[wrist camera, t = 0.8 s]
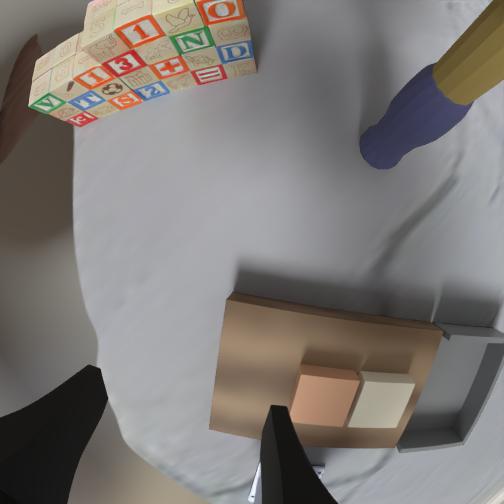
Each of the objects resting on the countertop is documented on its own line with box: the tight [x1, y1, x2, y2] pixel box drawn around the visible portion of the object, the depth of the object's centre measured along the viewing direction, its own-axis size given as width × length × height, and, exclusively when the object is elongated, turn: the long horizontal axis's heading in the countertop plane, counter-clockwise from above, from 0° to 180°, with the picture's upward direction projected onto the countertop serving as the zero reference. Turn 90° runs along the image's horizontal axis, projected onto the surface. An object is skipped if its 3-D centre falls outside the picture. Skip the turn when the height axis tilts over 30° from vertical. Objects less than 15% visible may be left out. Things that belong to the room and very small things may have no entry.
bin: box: [396, 322, 504, 453], centre depth 23 cm, size 14×10×4 cm
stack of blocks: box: [29, 0, 257, 127], centre depth 20 cm, size 21×6×12 cm, turn 99°
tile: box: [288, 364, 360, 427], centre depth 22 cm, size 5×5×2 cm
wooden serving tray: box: [209, 292, 444, 448], centre depth 25 cm, size 14×20×3 cm
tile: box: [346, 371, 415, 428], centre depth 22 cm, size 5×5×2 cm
